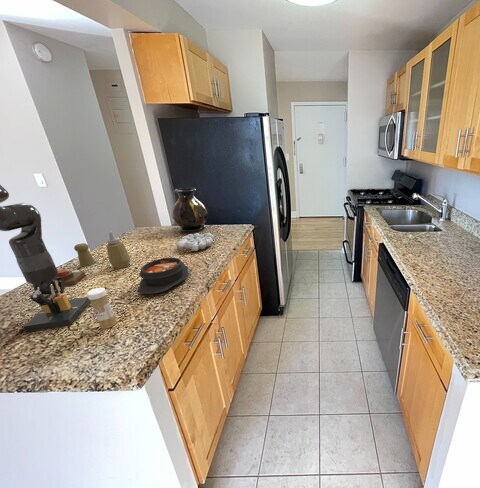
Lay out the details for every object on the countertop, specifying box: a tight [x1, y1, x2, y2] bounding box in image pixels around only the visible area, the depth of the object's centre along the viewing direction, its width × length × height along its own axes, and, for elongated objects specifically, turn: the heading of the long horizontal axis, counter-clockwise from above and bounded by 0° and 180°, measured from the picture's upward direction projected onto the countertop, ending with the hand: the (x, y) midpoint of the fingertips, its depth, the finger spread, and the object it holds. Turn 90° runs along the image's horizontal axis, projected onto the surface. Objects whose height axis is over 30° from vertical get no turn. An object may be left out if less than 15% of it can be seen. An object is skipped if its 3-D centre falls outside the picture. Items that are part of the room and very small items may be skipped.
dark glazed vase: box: [171, 187, 209, 234], centre depth 175 cm, size 22×22×28 cm
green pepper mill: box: [73, 242, 97, 268], centre depth 128 cm, size 6×6×11 cm
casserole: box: [137, 257, 190, 295], centre depth 112 cm, size 25×19×8 cm
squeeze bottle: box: [106, 231, 131, 270], centre depth 124 cm, size 8×8×18 cm
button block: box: [56, 270, 86, 287], centre depth 113 cm, size 11×9×4 cm
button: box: [57, 269, 68, 277], centre depth 112 cm, size 4×4×2 cm
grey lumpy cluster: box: [175, 232, 215, 252], centre depth 151 cm, size 22×21×6 cm
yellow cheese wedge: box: [41, 294, 71, 313], centre depth 90 cm, size 6×2×5 cm, turn 109°
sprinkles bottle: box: [86, 287, 118, 330], centre depth 85 cm, size 5×5×14 cm
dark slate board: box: [22, 296, 91, 334], centre depth 91 cm, size 12×14×3 cm
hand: (58, 309), depth 91 cm, fingers closed on yellow cheese wedge, 2 cm apart
